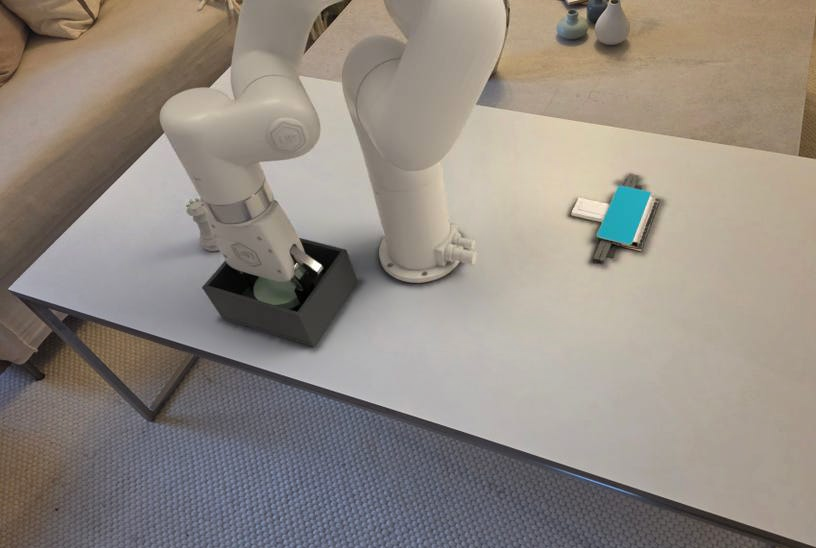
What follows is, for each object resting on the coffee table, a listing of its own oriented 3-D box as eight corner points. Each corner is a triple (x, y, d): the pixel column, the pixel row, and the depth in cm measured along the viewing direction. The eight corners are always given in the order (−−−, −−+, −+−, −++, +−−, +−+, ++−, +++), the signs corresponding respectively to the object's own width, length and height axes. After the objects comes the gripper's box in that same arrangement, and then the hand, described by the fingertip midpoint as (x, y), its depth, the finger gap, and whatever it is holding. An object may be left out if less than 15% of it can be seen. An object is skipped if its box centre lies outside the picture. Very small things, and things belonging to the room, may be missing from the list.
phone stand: (593, 169, 97) (594, 161, 96) (665, 184, 94) (667, 176, 92) (554, 251, 86) (554, 243, 85) (634, 272, 83) (635, 264, 82)
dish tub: (358, 282, 85) (346, 249, 80) (314, 347, 79) (298, 316, 73) (271, 259, 89) (254, 226, 84) (222, 319, 83) (201, 287, 77)
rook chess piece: (210, 257, 91) (186, 218, 84) (198, 242, 93) (174, 203, 86) (236, 243, 92) (215, 203, 86) (224, 228, 94) (203, 189, 88)
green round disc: (323, 285, 84) (317, 271, 82) (295, 324, 80) (288, 310, 78) (279, 273, 86) (272, 259, 84) (250, 310, 82) (242, 296, 80)
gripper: (158, 201, 69) (219, 298, 83) (282, 233, 64) (325, 330, 78) (198, 163, 73) (250, 261, 87) (318, 191, 69) (352, 290, 82)
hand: (285, 293), depth 83 cm, fingers closed on green round disc, 7 cm apart
